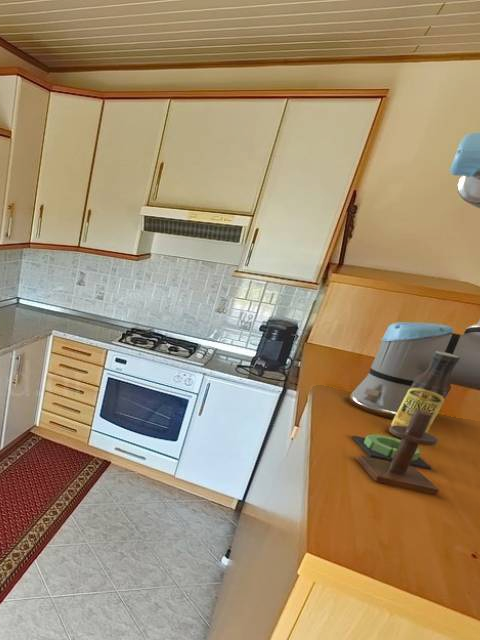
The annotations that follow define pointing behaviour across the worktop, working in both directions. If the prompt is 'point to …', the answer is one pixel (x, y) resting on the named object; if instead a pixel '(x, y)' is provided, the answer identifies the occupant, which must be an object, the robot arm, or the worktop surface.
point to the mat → (374, 454)
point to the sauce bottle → (427, 390)
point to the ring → (385, 445)
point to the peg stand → (404, 457)
